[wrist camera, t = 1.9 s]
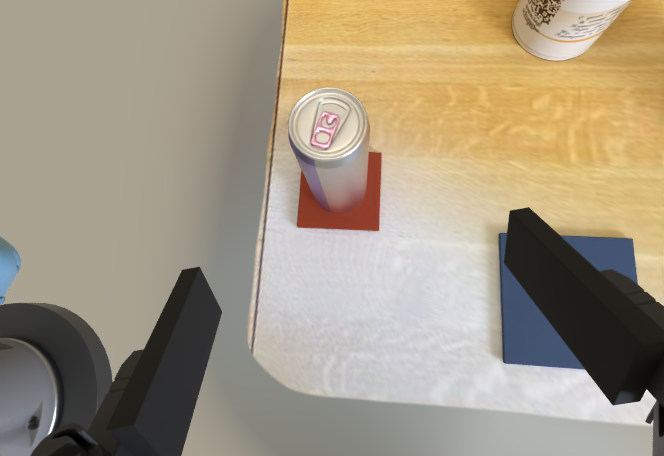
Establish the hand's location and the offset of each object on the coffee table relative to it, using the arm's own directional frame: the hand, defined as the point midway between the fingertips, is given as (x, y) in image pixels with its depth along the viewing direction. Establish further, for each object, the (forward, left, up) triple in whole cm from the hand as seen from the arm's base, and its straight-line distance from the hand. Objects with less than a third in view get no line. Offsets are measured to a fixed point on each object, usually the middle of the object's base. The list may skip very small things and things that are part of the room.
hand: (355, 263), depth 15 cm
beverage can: (+5, +9, -22) cm, 25 cm away
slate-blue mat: (+15, -15, -23) cm, 31 cm away
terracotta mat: (+5, +9, -23) cm, 25 cm away
